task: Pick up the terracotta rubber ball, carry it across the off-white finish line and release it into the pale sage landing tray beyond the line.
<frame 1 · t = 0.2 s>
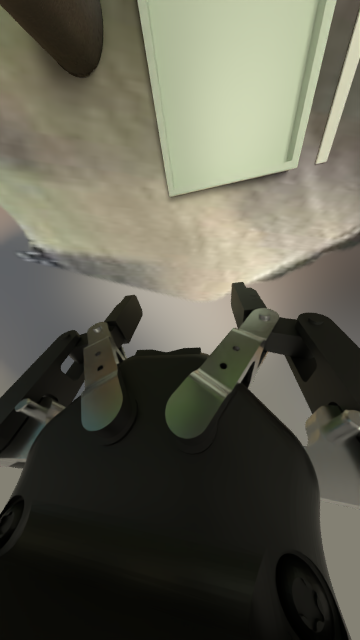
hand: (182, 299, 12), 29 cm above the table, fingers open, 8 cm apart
finish line: (356, 40, 19), on the table
pillar candle: (68, 11, 19), on the table
landing tray: (228, 85, 22), on the table
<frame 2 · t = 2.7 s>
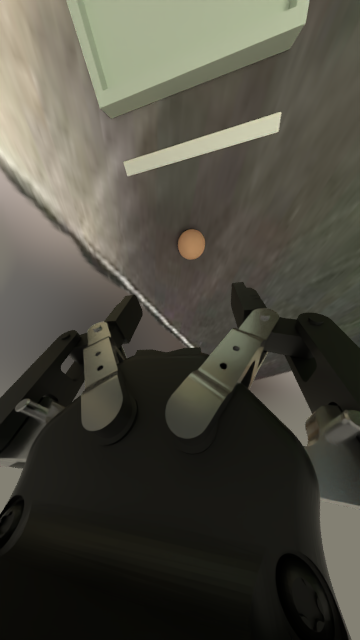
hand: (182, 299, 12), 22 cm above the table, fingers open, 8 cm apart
finish line: (194, 148, 21), on the table
ball: (191, 244, 27), point 2 cm above the table
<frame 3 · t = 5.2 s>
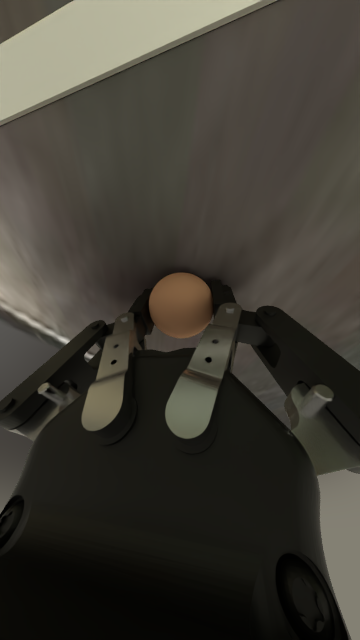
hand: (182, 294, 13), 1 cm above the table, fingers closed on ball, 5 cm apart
ball: (181, 306, 11), point 2 cm above the table, touching gripper
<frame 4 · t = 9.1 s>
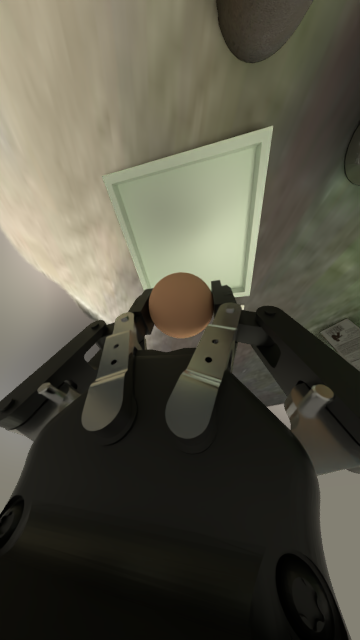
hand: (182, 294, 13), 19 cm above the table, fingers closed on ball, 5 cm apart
ball: (181, 305, 11), point 21 cm above the table, touching gripper
landing tray: (190, 243, 27), on the table
coffee box: (340, 332, 38), on the table
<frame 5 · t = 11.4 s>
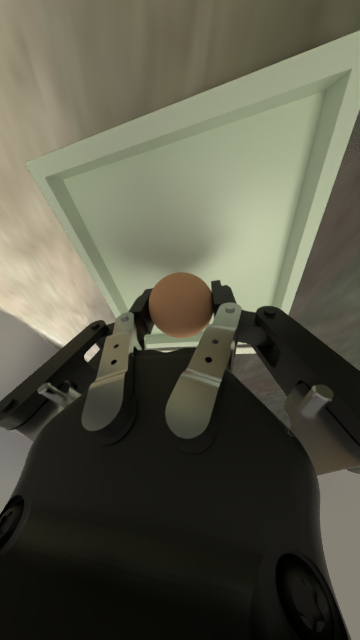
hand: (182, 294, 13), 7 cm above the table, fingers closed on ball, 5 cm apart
finish line: (202, 350, 28), on the table
ball: (181, 305, 11), point 8 cm above the table, touching gripper
landing tray: (190, 268, 18), on the table
when the fingers open (2 cm above the table, at t = 13.2 s): ball stays where it is, resting on landing tray.
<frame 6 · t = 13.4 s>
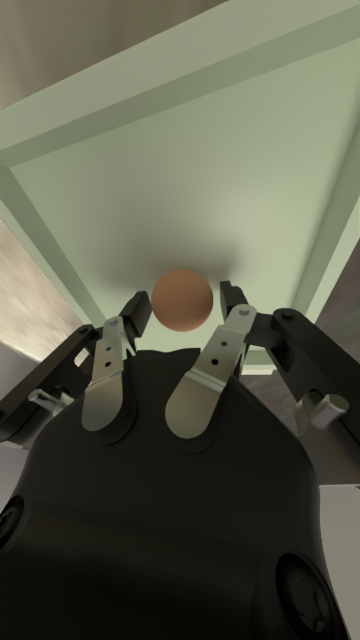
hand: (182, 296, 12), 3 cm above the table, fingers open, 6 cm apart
finish line: (199, 370, 24), on the table
ball: (182, 301, 12), point 3 cm above the table, touching landing tray
landing tray: (184, 282, 14), on the table
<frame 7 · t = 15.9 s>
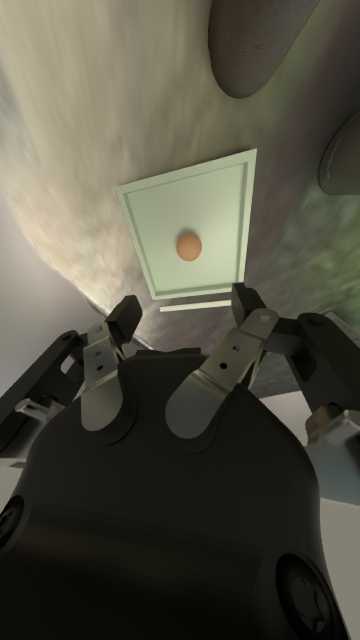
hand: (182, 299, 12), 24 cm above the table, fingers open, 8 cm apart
finish line: (197, 305, 41), on the table
ball: (189, 247, 28), point 3 cm above the table, touching landing tray
pillar candle: (252, 27, 16), on the table
landing tray: (189, 243, 31), on the table
coffee box: (326, 324, 41), on the table
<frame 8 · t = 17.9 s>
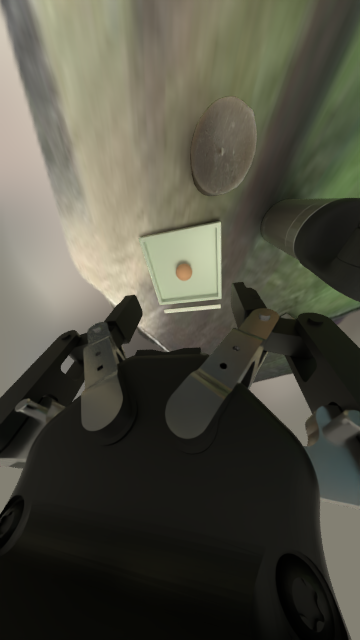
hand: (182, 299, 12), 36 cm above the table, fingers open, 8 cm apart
finish line: (191, 308, 56), on the table
ball: (184, 272, 44), point 3 cm above the table, touching landing tray
pillar candle: (214, 168, 32), on the table
landing tray: (184, 268, 47), on the table
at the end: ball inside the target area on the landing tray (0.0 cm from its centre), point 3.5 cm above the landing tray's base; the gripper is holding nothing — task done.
